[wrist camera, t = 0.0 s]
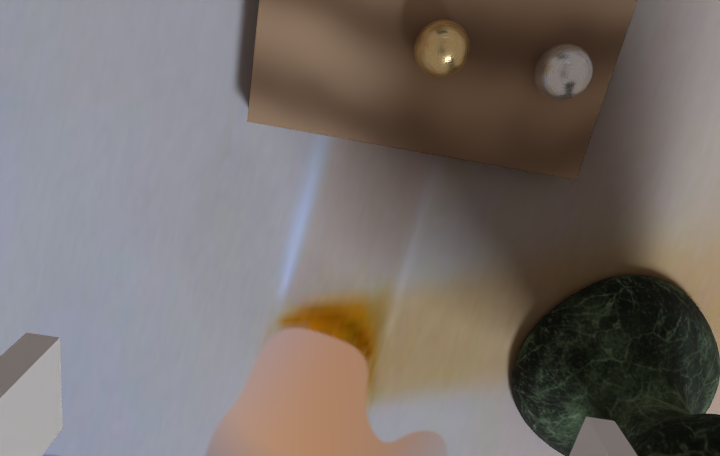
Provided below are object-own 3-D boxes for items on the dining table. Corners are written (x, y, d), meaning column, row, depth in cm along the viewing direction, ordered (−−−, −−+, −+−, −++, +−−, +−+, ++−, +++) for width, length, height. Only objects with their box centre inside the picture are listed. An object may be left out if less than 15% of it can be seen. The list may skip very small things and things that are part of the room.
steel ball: (536, 38, 33) (555, 39, 30) (586, 48, 34) (611, 50, 30) (520, 92, 35) (537, 98, 31) (569, 101, 35) (591, 108, 32)
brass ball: (417, 15, 33) (424, 13, 30) (470, 25, 33) (482, 24, 30) (406, 71, 34) (411, 74, 31) (456, 80, 34) (467, 85, 31)
